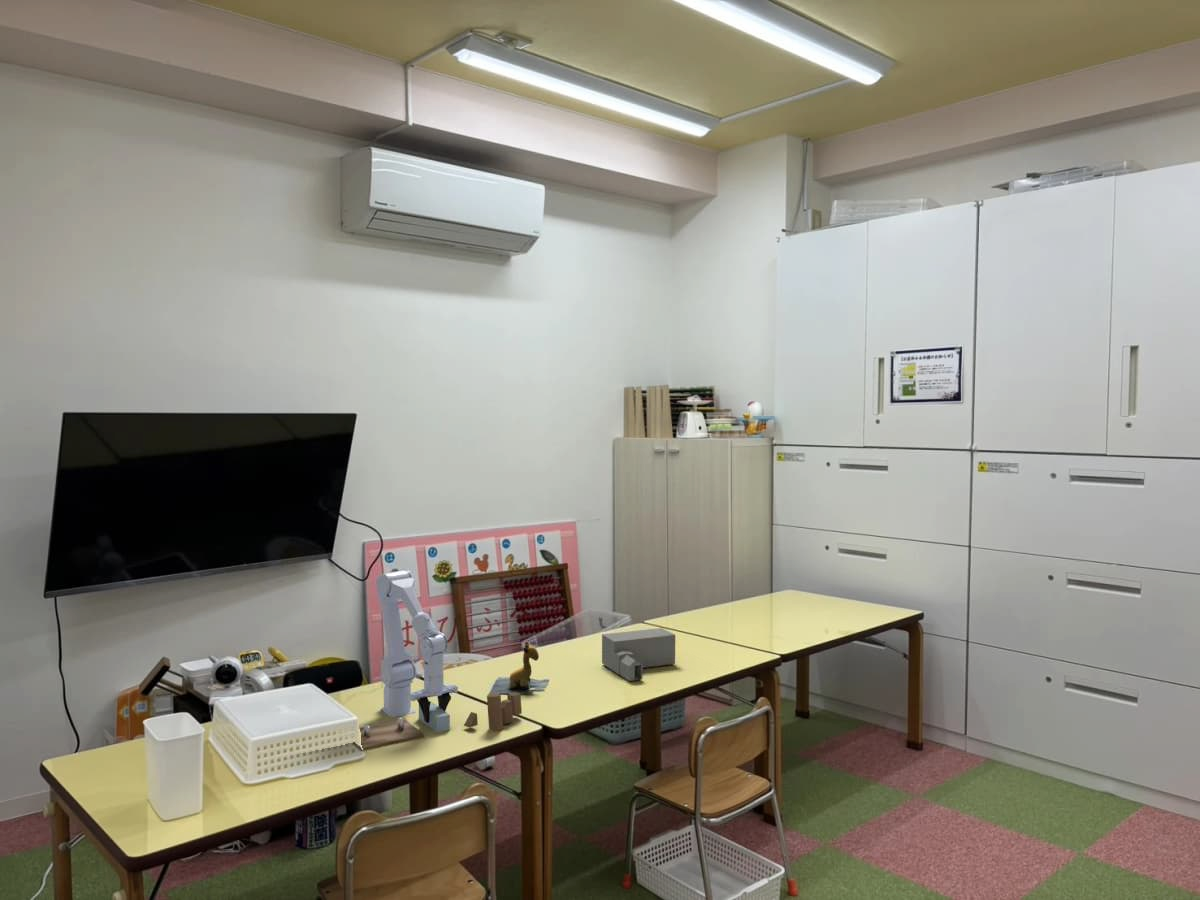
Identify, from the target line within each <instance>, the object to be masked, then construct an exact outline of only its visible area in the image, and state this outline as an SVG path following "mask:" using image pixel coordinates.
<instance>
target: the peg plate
mask: <svg viewBox="0 0 1200 900" xmlns="http://www.w3.org/2000/svg"><path fill="white" fill-rule="evenodd" d="M359 728H360V732H361V745H362V748H363V749H364V750H363V751H367V750H371V749H375V748H381V747H385V746H390V745H389V744H391V745H395V744H398V743H399V742H400V743H403V742H404V743H405V742H408V741H412V740H413V739H414V740H418V739H422V738H424V736H425V734H424V733H423V732H421V731H420V730H419V729H418V728H416V727H415V726H414V724H412V723H410V722H409V721H408V720H407V719H406V718H402V716H398V717H397V719H396V720H391V721H387V722H382V723H377V724H373V725H372V724H370V725H369V723H365V724H363V726H362V727H359ZM394 743H395V744H394ZM400 743H399V744H400Z"/></svg>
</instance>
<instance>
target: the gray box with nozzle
mask: <svg viewBox="0 0 1200 900" xmlns="http://www.w3.org/2000/svg"><path fill="white" fill-rule="evenodd" d="M601 664H603V666H606V668H609V670H611V671H613V672H614V673H616V674H617V675H620V676H621V677H622V678H623V679H625V680H627V681H629V682H630V681H631V682H632V681H638V680H639V681H640V680H643V668H645V669H646V668H650V667H651V668H652V667H659V666H661V667H662V666H666V665H667V666H668V665H675V664H676V634H675V633H673V632H671V631H669V630H666V629H664V628H663V627H659V628H649V629H648V628H647V629H640V630H639V629H638V630H632V631H631V630H630V631H622V632H613V633H612V632H610V633H603V634H601Z"/></svg>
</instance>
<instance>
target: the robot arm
mask: <svg viewBox="0 0 1200 900" xmlns="http://www.w3.org/2000/svg"><path fill="white" fill-rule="evenodd" d="M414 586H415V579H414V576H413V574H412V572H411V571H410V570H408V569H403V570H397V571H392V572H386V573H385V572H383V573H381V574H379V575H378V577H377V579H376V580H375V587H376V592H377V599H378V600H379V603H380V609H381V616H382V623H383V624H382V625H383V631H384V636H385V637H384V638H385V643H386V650H387V652H386V653H387V655H386V656H385V657H384V658H383V660H382V661H381V662H380V667H381V669H380V678H381V682H382V684H384V687H383V707H381V708H380V710H381V709H382V710H383V711H382V710H381V711H382V712H383V713H385V712H386V713H387V714H388V715H387V714H386V713H385V714H386V715H387V716H388V717H390V718H395V716H397V717H401V716H400V715H402V716H406V715H405V714H407V715H410V713H412V714H415V713H416V711H415V709H413V708H412V704H411V703H412V702H416V701H417V703H418V706H419V705H420V707H421V709H422V712H423V716H424V721H425V722H426V723H429V709H430V703H431V702H432V701H431V700H430V701H431V702H430V701H429V698H431V697H432V698H433V697H437V703H438V705H437V706H438V707H440V708H441V709H443V710H444V711H445V712H447V708H448V705H449V703H450V701H451V700H452V696H451V694H457V693H458V689H459V688H458V686H457V685H456V684H452V685H451V684H450V685H444V679H445V678H444V653H445V652H447V649H448V645H449V644H448V639H447V637H446V635H445V634H444V633H442V632H441V631H440V630H438V629H437V628H436V626H435V624H434V621H433V620H432V618H431V616H430V615H429V613H426V612H424V611H423V607H422V606H421V603H420V601H419V599H418V597H417V595H416V591H415V589H414ZM399 600H401V601H402V603H403V605H404V606H405V608H406V609H407V611H408V612H409V614H410V616H411V617H412V620H411V626H412V628H413V630H414V632H415V634H416V635H417V637H418V639H419V641H420V644H419V645H418V646H419V650H420V653H421V660H422V662H423V689H420V690H416V691H413V692H411V689H412V688H411V684H413V681H414V679H416V676H417V667H416V665H415V662H414V659H413V656H412V655H411V653H408V652H407V651H406V650H405V649H406V648H405V642H404V637H403V629H402V622H401V616H400V609H399V603H398V602H399Z"/></svg>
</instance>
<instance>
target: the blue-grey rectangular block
mask: <svg viewBox="0 0 1200 900" xmlns="http://www.w3.org/2000/svg"><path fill="white" fill-rule="evenodd" d="M430 702H431V703H430V709H429V723H426V722H425V721H424V716H423V712H422V709H421V707H420V705H419V704H418V720H419V721H420V722H422V723H423V724H425V725H426V727H429V728H430V729H431V730H432V731H434V732H435V733H436V732H437V733H436V734H439V732H440V733H443V732H444V731H445V732H448V731H447V730H449V731H451V722H450V721H451V715H450V713H448V712H447V711H444V710H443V709H441V708H440V707H439V705H437V704H436V703H434V702H433V701H431V700H430ZM445 732H444V733H445Z"/></svg>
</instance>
